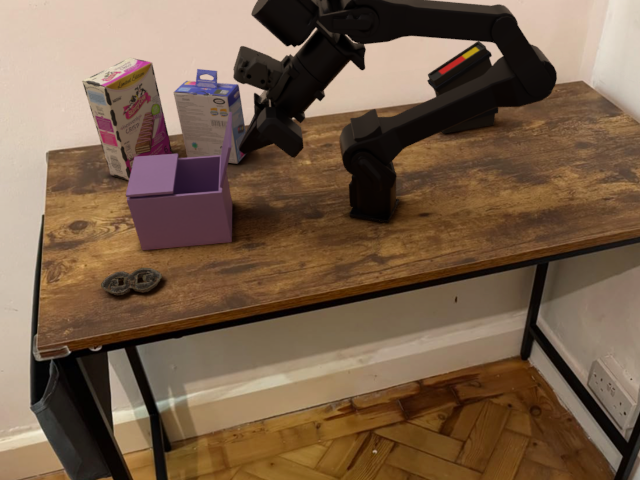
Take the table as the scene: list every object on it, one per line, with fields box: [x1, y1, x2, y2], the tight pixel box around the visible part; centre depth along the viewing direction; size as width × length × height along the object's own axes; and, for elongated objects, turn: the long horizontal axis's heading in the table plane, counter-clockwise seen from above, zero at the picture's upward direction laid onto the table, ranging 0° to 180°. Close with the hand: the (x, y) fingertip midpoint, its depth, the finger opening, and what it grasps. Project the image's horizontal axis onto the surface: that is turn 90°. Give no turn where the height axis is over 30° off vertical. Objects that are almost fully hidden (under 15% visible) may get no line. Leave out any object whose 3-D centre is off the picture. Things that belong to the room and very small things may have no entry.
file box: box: [125, 153, 233, 251], centre depth 99 cm, size 13×11×9 cm
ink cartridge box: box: [173, 68, 247, 165], centre depth 113 cm, size 10×6×14 cm, turn 78°
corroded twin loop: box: [100, 267, 163, 296], centre depth 91 cm, size 5×8×1 cm, turn 105°
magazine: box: [426, 41, 499, 134], centre depth 122 cm, size 4×13×15 cm, turn 111°
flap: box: [220, 112, 232, 188], centre depth 95 cm, size 6×11×1 cm
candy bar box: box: [81, 57, 173, 182], centre depth 110 cm, size 11×5×16 cm, turn 155°
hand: (241, 151), depth 95 cm, fingers closed
